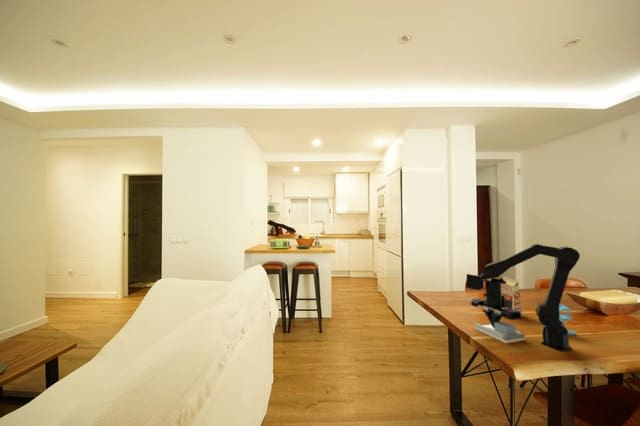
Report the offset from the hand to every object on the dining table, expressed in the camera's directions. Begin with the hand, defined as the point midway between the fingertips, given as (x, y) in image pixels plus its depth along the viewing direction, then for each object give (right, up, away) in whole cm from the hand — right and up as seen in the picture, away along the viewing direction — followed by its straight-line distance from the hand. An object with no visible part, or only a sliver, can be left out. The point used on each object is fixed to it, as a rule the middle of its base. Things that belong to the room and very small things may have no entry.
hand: (494, 328), depth 103 cm
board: (0, -2, -1) cm, 2 cm away
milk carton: (+25, -4, +22) cm, 33 cm away
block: (+1, -1, -4) cm, 5 cm away
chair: (+29, -2, +1) cm, 29 cm away
